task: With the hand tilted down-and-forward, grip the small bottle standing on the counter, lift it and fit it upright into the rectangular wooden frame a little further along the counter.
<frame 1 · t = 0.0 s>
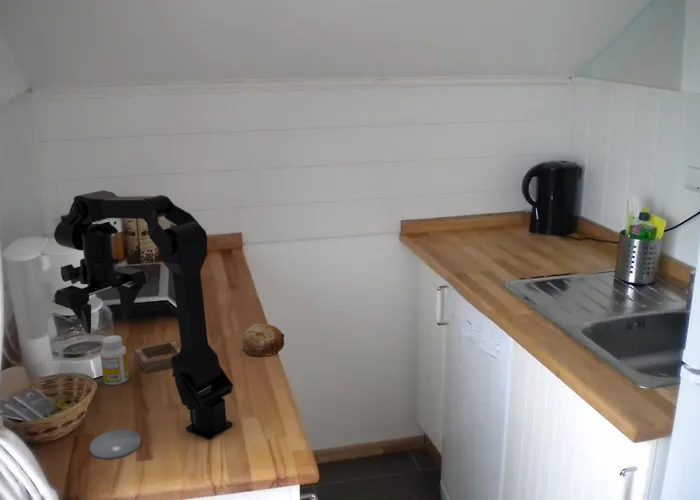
hand: (107, 325, 150), 15 cm above the worktop, tool pointing down, fingers open, 9 cm apart
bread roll: (263, 349, 175), on the worktop
slate coaster: (115, 445, 133), on the worktop
supplement bottle: (116, 380, 159), on the worktop
rectangular wooden frame: (160, 361, 168), on the worktop
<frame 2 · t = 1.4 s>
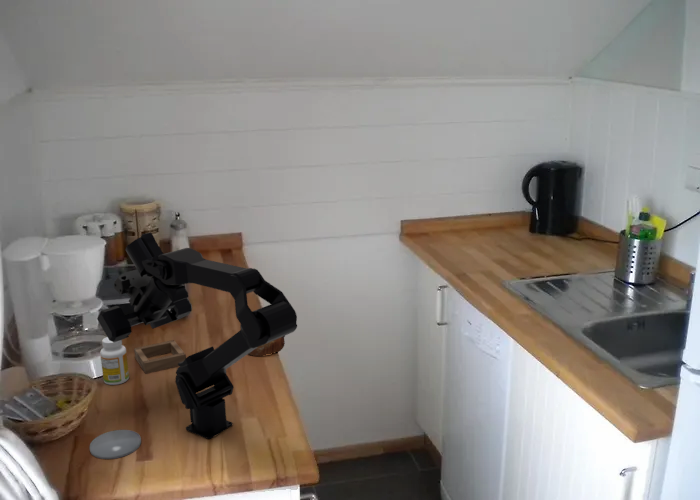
hand: (132, 333, 150), 13 cm above the worktop, tool tilted 45°, fingers open, 9 cm apart
nothing on the worktop moved.
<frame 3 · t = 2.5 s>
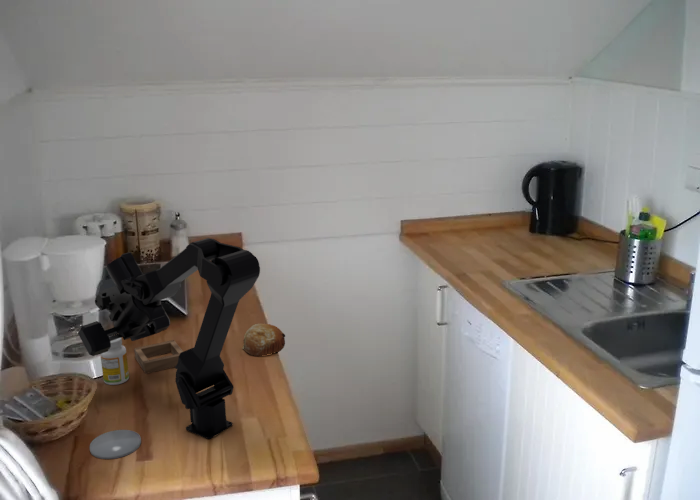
hand: (113, 345, 157), 8 cm above the worktop, tool tilted 45°, fingers open, 9 cm apart
nothing on the worktop moved.
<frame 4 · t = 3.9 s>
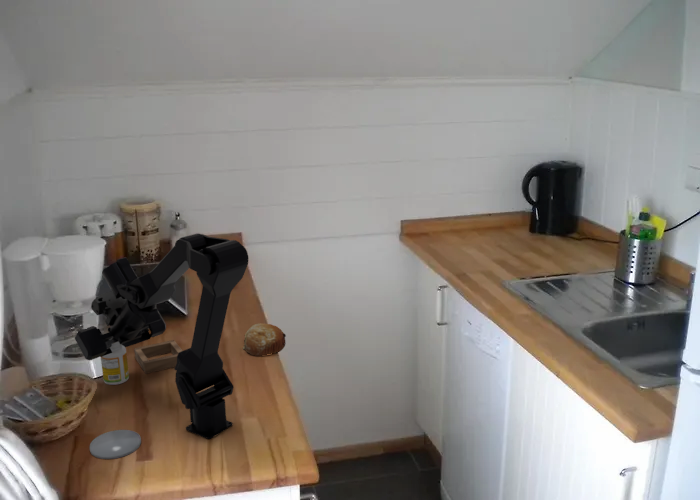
hand: (109, 350, 158), 7 cm above the worktop, tool tilted 45°, fingers closed on supplement bottle, 5 cm apart
supplement bottle: (116, 380, 159), on the worktop, touching gripper
everything else where it was.
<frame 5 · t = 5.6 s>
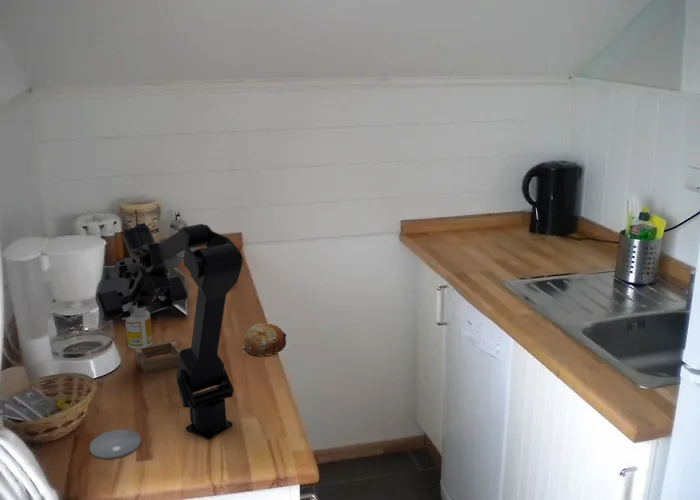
hand: (135, 314, 162), 12 cm above the worktop, tool tilted 45°, fingers closed on supplement bottle, 5 cm apart
supplement bottle: (140, 345, 163), point 6 cm above the worktop, touching gripper
everything else where it was.
when the fingers open (8 cm above the worktop, at t = 7.4 s): supplement bottle drops 2 cm, resting in rectangular wooden frame.
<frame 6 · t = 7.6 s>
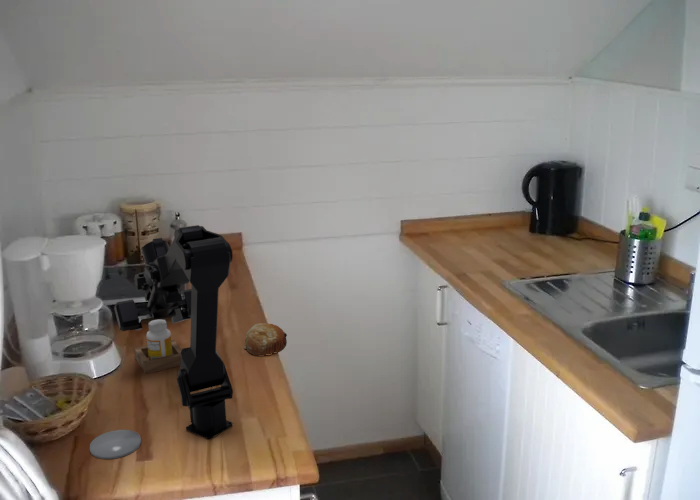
hand: (155, 324, 167), 9 cm above the worktop, tool tilted 45°, fingers open, 8 cm apart
supplement bottle: (161, 362, 168), resting in rectangular wooden frame
everything else where it was.
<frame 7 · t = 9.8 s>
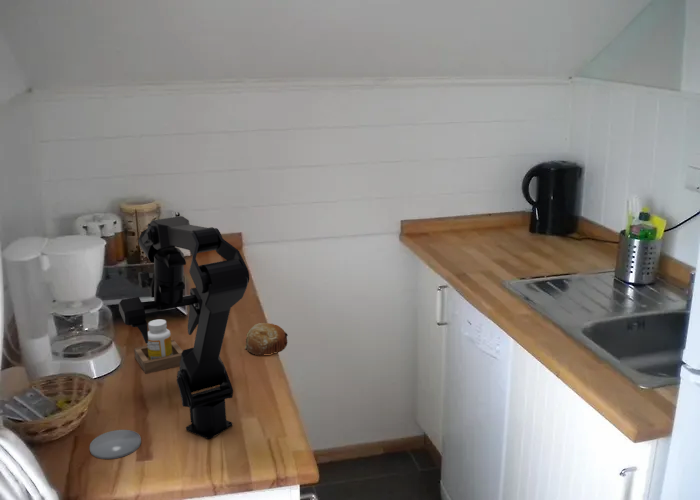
hand: (168, 337, 152), 11 cm above the worktop, tool tilted 15°, fingers open, 9 cm apart
nothing on the worktop moved.
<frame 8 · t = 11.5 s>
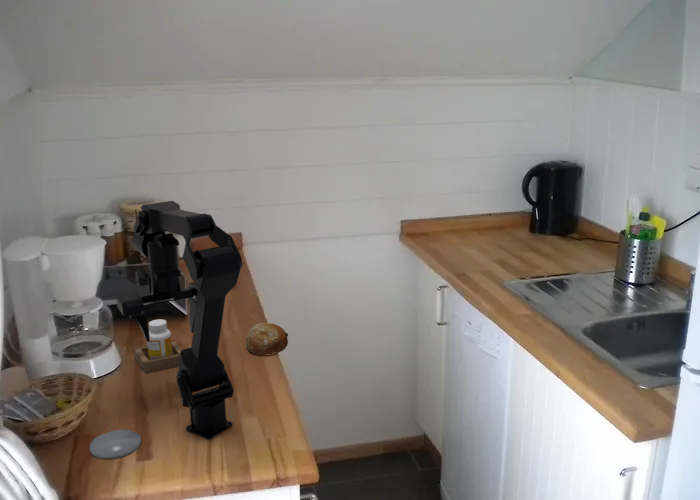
hand: (170, 336, 149), 13 cm above the worktop, tool pointing down, fingers open, 9 cm apart
at the end: supplement bottle 0.2 cm from the rectangular wooden frame (horizontally); supplement bottle tilted 0°; supplement bottle resting in rectangular wooden frame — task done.
